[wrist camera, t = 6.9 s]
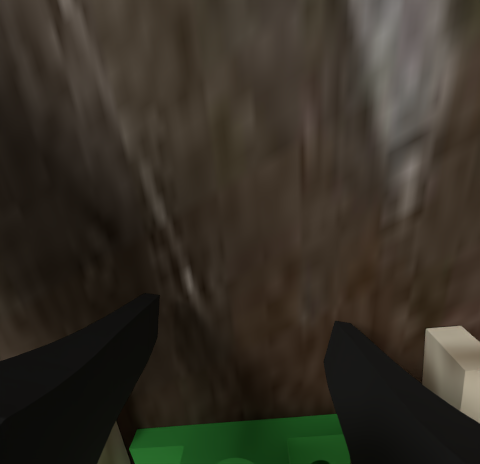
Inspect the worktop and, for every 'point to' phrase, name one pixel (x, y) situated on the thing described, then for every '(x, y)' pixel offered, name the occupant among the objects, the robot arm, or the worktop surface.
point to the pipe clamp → (245, 442)
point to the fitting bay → (434, 378)
